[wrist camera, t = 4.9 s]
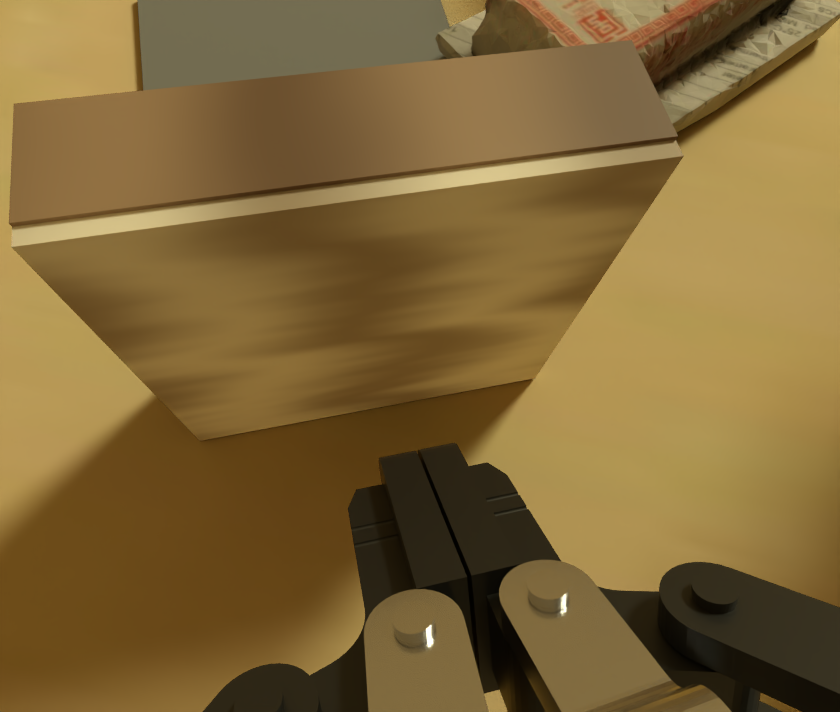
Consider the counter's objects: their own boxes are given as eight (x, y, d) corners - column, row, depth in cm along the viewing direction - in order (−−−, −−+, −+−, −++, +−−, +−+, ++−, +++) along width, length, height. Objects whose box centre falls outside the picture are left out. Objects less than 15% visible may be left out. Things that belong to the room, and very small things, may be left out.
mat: (429, -25, 31) (429, -33, 31) (529, 281, 24) (532, 276, 24) (140, -1, 29) (136, -9, 28) (162, 340, 22) (159, 336, 22)
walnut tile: (512, 308, 24) (631, 39, 13) (534, 379, 23) (685, 152, 12) (193, 361, 22) (13, 103, 11) (200, 441, 21) (7, 243, 10)
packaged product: (627, 114, 21) (444, -50, 24) (581, 202, 26) (431, 56, 28) (906, -59, 27) (733, -176, 29) (828, 38, 31) (684, -71, 34)
